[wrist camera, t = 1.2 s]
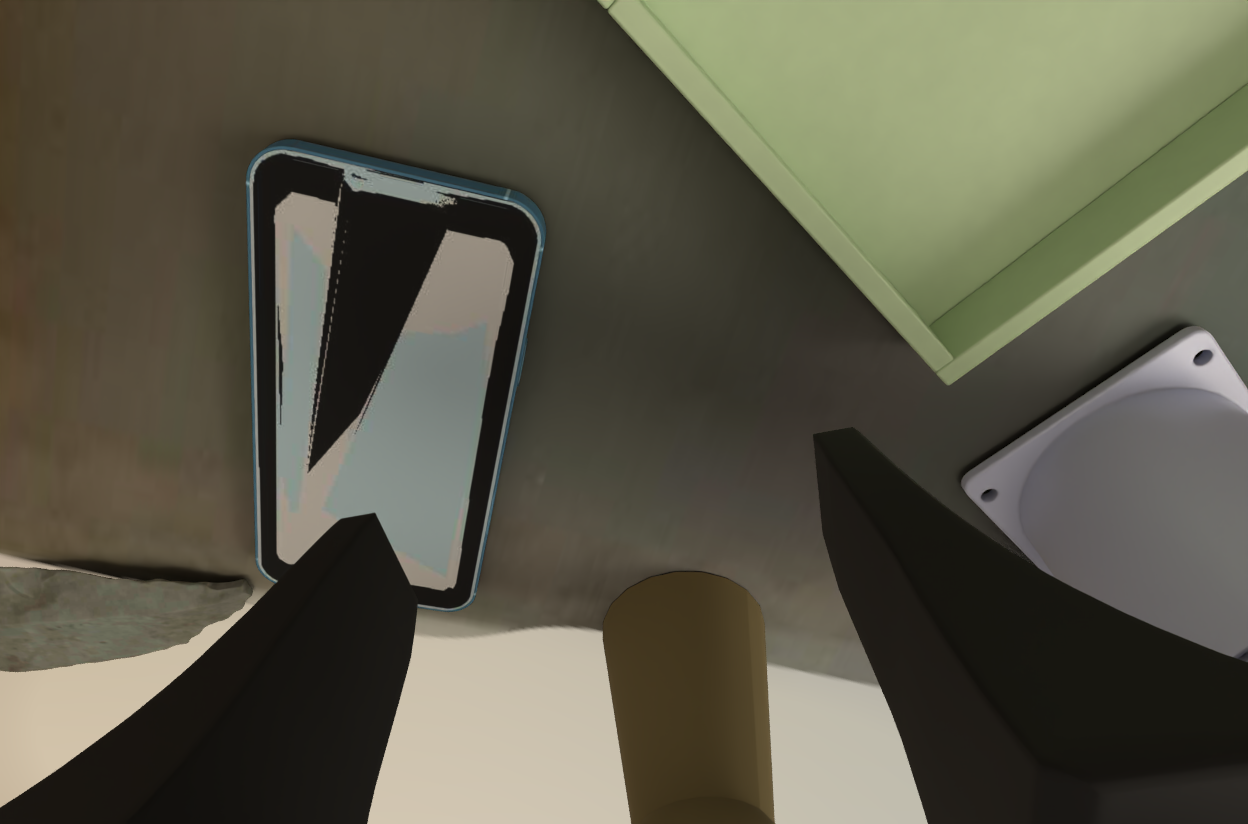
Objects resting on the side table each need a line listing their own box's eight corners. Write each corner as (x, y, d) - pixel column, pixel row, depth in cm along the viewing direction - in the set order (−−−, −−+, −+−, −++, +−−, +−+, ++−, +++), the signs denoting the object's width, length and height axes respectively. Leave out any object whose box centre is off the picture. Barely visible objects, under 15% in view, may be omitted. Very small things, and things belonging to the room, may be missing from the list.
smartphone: (254, 582, 26) (242, 135, 18) (265, 562, 27) (258, 125, 19) (473, 617, 27) (553, 208, 19) (477, 596, 28) (556, 195, 20)
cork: (643, 701, 31) (656, 1035, 22) (573, 604, 28) (555, 943, 19) (786, 656, 30) (867, 990, 20) (729, 549, 27) (793, 883, 17)
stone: (226, 572, 25) (266, 678, 28) (244, 542, 27) (281, 645, 29) (-120, 594, 25) (-48, 699, 28) (-84, 562, 26) (-19, 665, 29)
